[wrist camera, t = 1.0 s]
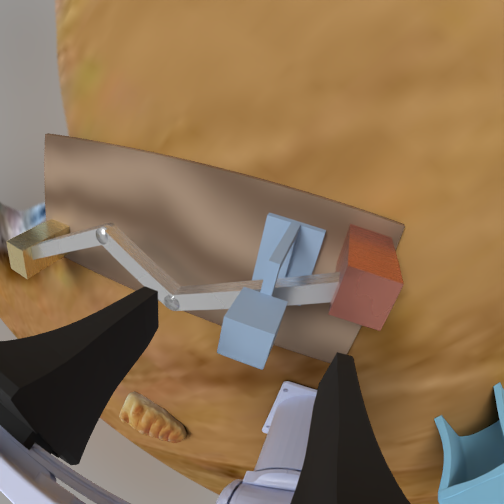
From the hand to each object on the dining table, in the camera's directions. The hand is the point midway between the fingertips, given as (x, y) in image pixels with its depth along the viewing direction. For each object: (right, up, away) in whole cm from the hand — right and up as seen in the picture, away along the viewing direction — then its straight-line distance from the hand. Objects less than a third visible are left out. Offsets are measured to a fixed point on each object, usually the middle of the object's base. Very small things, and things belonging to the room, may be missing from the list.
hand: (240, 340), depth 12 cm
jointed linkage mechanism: (-6, +5, +14) cm, 16 cm away
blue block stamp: (+3, +3, +11) cm, 12 cm away
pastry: (-13, -18, +27) cm, 35 cm away
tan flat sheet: (-6, +5, +14) cm, 16 cm away
